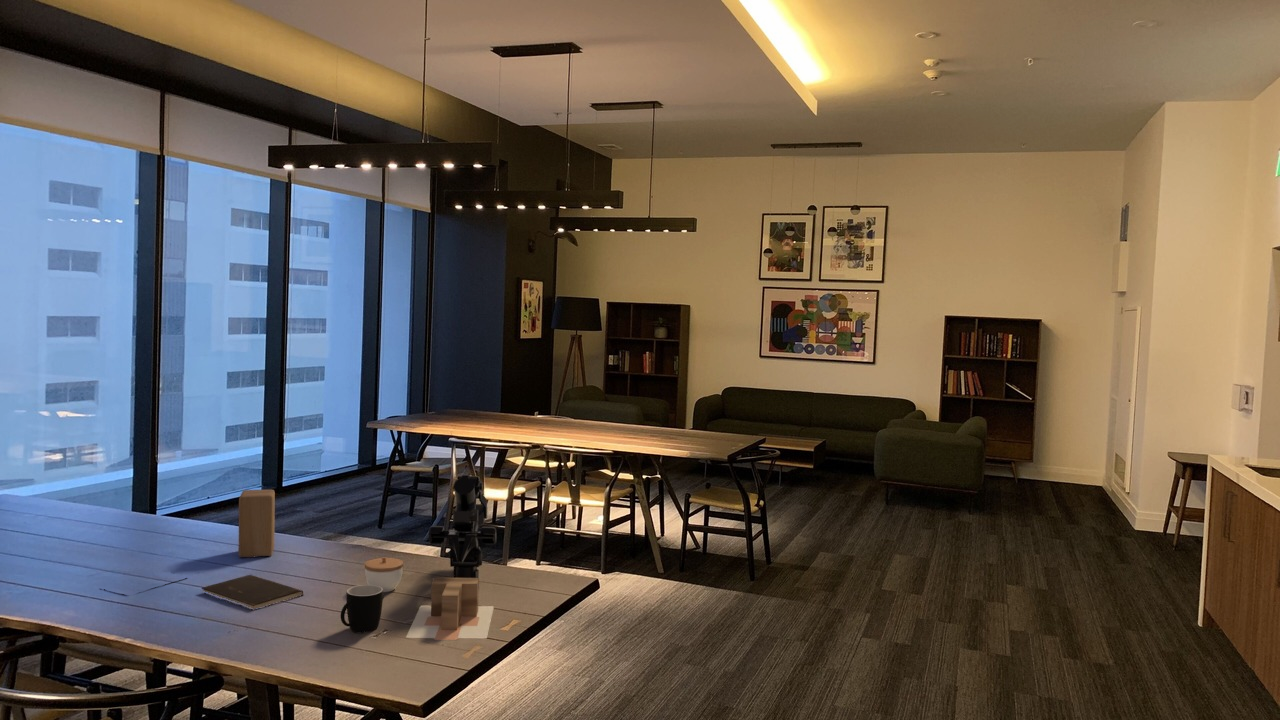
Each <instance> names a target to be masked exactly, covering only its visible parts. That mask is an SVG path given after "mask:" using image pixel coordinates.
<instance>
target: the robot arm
mask: <svg viewBox="0 0 1280 720" xmlns="http://www.w3.org/2000/svg"><path fill="white" fill-rule="evenodd" d="M483 489H484V483H483V480H482V479H480V476H478V475H468V474H467V475H465V474H462V475H458V476H457V478H456V479H455V480H454V482H453V486H452V491H453V492H454V499H455V502H456V503H455V511H453V516H452V517H453V518H452V526H451V527H452V529H448V530H445V528H444V525H431V526H430V527H429V528H428V539H429V543H430V544H431V545H434V544H435V545H440V544H441V545H442V544H443V543H444V542H445V539H447V541H448V546H449V548H450V550H449V564H450V566H449V567H450V568H452V567H453V572H452V573H453V575H452V576H453V577H452V578H479V573H480V572H479V571H480V570H479V569H478V568H479V567H481V566H483V551H482V550H481V547H480V546H479V541H478V539H482V543H483V544H484V545H487V546H489V545H490V546H491V545H493V546H494V545H496V544H497V528H496V527H494V526H482V525H484V524H485V522H486V521H485V520H487V518H488V500H487V498H486V497H485V495H484V494H483V492H482V490H483ZM477 499H478V501H479V502H480V503H477ZM480 526H482V527H481V530H480V531H479V530H478V529H479V527H480ZM479 579H480V578H479Z"/></svg>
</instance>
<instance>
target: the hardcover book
mask: <svg viewBox="0 0 1280 720" xmlns="http://www.w3.org/2000/svg"><path fill="white" fill-rule="evenodd" d="M201 590H203V591H205V592H208V593H211V594H213V595H217V596H219V597H222V598H226V599H228V600H231V601H235V602H237V603H241V604H244V605H246V606H248V607H251V608H253V609H256V608H259V607H263V606H266V605H269V604H273V603H276V602H279V601H283V600H287V599H290V598H293V597H296V596H300V595H303V596H304V591H303V590H301V589H299V588H295V587H292V586H288V585H286V584H282V583H279V582H275V581H272V580H270V579H266V578H262V577H259V576H256V575H254V574H248V575H244V576H240V577H237V578H233V579H229V580H226V581H221V582H218V583H217V582H216V583H214V584H211V585H206V586H204V587H201ZM203 591H202V592H203ZM300 597H301V596H300ZM293 599H294V598H293ZM290 600H291V599H290ZM287 601H288V600H287Z"/></svg>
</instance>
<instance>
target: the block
mask: <svg viewBox="0 0 1280 720" xmlns="http://www.w3.org/2000/svg"><path fill="white" fill-rule="evenodd" d="M275 495H276V493H275V489H245V490H242V491H241V494H240V495H239V497H238V556H239V558H241V557H247V558H258V557H257V556H269V557H272V555H273V552H274V550H275V549H274V548H275V530H276V529H275V527H276V526H275V525H276V524H275V519H276V518H275V513H276V511H275V509H276V507H275V506H276V503H275V502H276V499H275V498H276V496H275ZM254 556H255V557H254Z"/></svg>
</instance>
